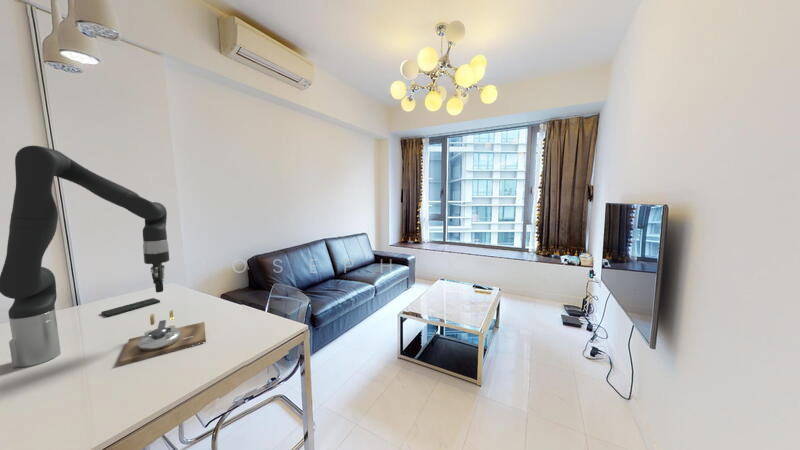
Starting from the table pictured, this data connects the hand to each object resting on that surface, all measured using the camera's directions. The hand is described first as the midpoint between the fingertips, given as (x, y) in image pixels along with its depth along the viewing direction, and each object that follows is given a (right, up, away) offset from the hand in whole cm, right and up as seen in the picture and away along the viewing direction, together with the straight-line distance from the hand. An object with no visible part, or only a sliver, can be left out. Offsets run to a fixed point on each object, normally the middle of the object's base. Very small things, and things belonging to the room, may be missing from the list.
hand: (159, 291), depth 107 cm
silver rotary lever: (+4, -18, -4) cm, 19 cm away
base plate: (+7, -20, -4) cm, 21 cm away
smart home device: (-40, -16, +27) cm, 50 cm away
